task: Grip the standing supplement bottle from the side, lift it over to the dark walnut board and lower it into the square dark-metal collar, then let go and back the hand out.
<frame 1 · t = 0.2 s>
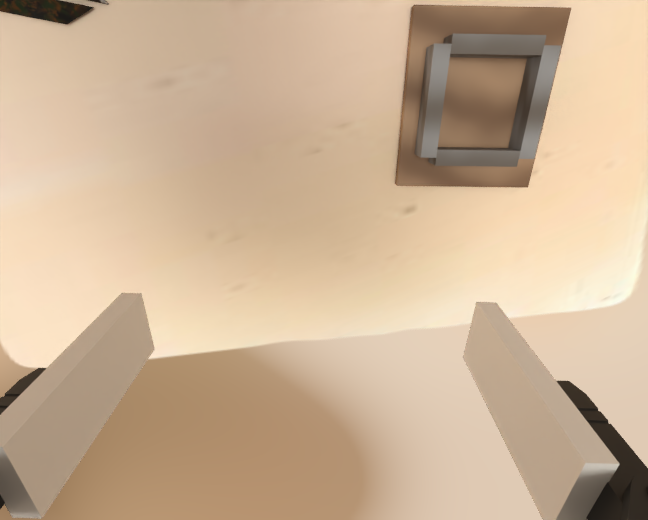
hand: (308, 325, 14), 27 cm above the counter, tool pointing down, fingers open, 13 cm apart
collar board: (472, 104, 36), on the counter
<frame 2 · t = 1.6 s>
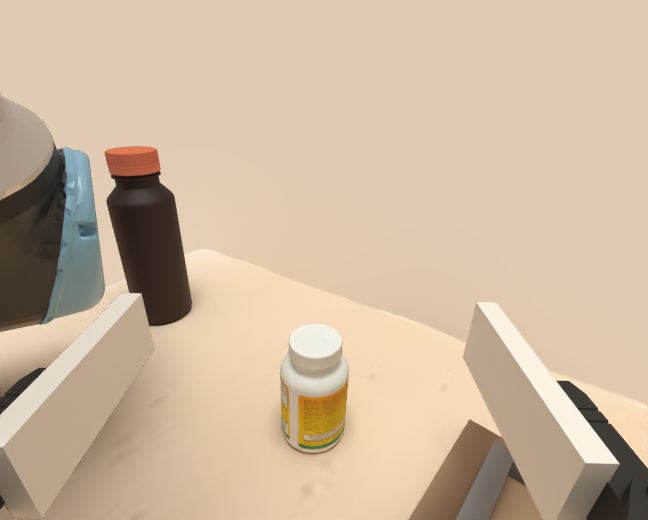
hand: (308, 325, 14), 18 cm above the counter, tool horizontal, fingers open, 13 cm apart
supplement bottle: (313, 428, 31), on the counter
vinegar: (164, 311, 46), on the counter
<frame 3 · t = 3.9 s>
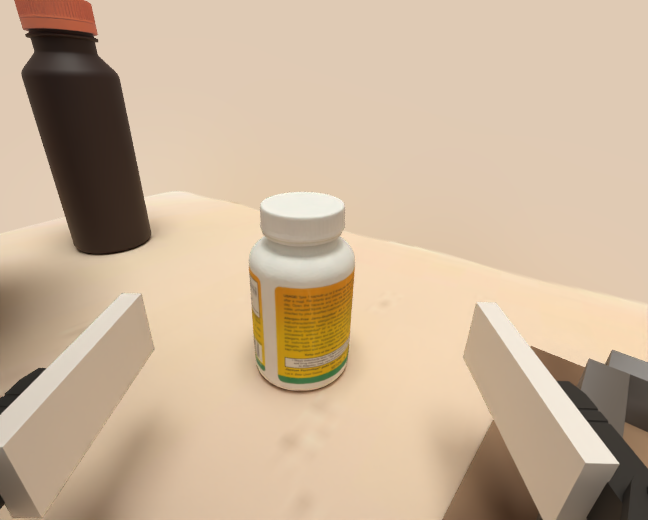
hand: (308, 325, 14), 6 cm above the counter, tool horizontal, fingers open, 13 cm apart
supplement bottle: (302, 362, 21), on the counter
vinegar: (115, 243, 36), on the counter
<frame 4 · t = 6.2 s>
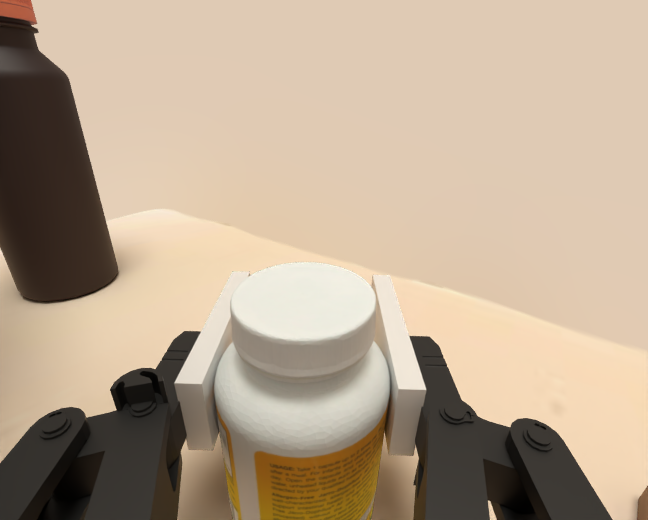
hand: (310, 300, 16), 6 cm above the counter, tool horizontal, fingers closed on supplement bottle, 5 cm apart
supplement bottle: (304, 505, 14), on the counter, touching gripper
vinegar: (73, 283, 29), on the counter
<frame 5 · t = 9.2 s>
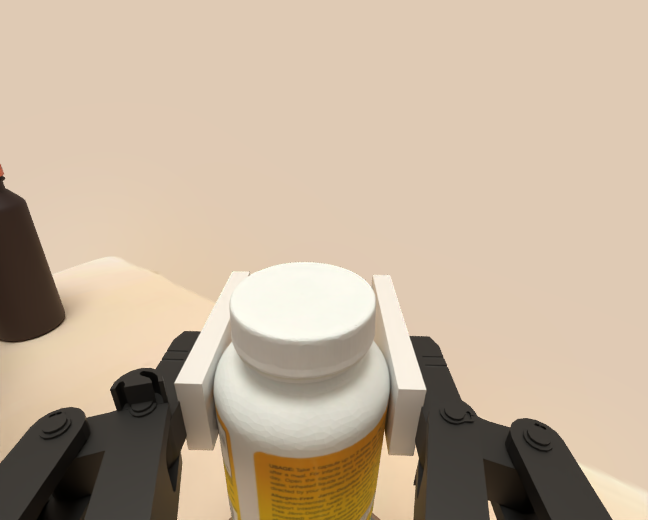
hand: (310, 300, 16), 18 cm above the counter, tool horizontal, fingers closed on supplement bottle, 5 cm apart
supplement bottle: (303, 506, 14), point 12 cm above the counter, touching gripper
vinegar: (33, 326, 43), on the counter
when the fingers open (9 cm above the counter, at t = 12.2 s): supplement bottle drops 2 cm, resting on collar board.
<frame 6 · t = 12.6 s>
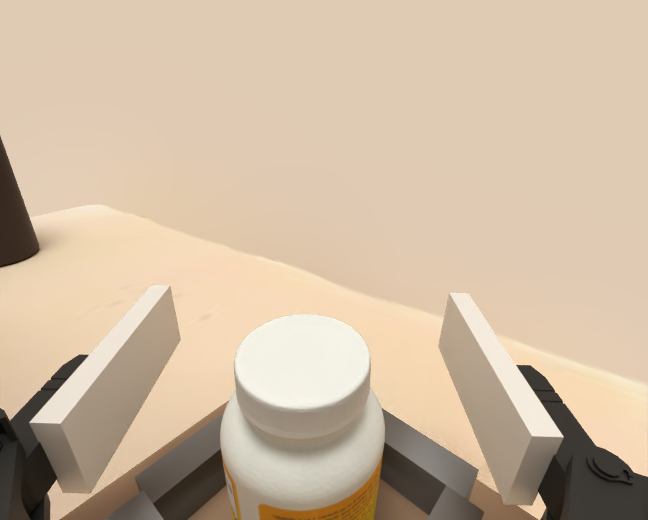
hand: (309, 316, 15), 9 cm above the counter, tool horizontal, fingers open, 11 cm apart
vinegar: (3, 257, 40), on the counter
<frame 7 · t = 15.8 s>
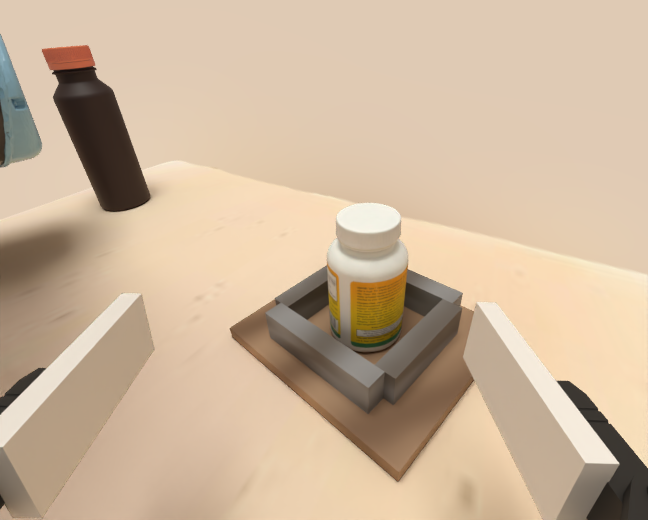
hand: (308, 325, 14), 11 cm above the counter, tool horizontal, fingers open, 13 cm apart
supplement bottle: (365, 330, 28), point 1 cm above the counter, touching collar board
collar board: (364, 337, 28), on the counter
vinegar: (127, 203, 54), on the counter
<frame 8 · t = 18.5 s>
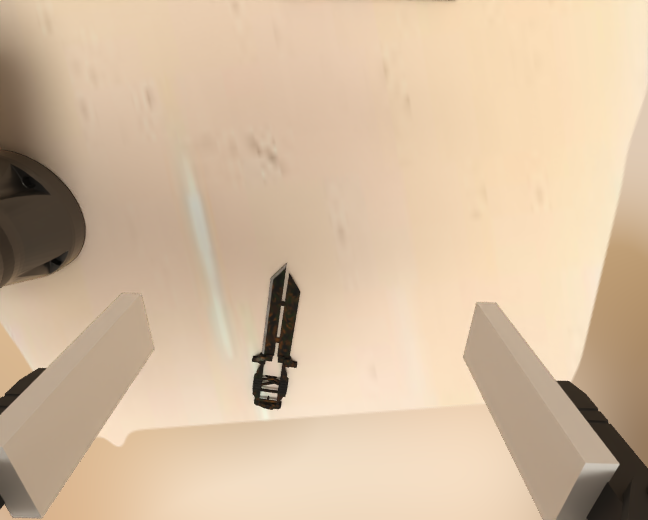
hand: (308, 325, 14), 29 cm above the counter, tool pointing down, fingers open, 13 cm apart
knife: (275, 338, 51), on the counter
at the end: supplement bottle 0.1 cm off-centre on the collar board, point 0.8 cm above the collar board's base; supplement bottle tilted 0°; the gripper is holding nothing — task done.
